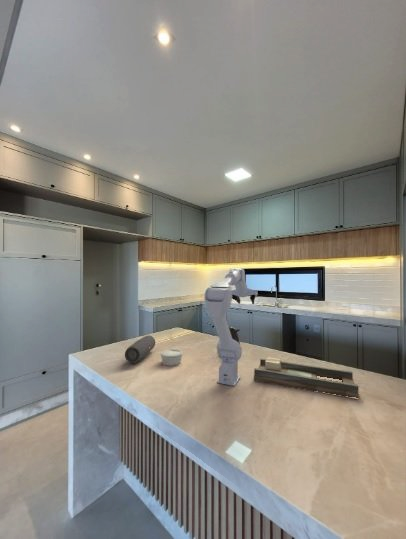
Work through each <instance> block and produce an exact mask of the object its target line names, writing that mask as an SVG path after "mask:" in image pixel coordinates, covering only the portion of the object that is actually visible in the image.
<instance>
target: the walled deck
mask: <svg viewBox="0 0 406 539" xmlns="http://www.w3.org/2000/svg"><path fill="white" fill-rule="evenodd" d="M266 359H267V358H260V359H259V361H260V362H259V365H258V368H257V367H255V368H254V369H253V370H254V371H253V374H254V375H253V382H254V381H255V382H261V383H265V384H270V383H271V384H272V385H276V384H277V385H278V386H281V385H283V386H282V387H287V386H288V388H292V387H294V388H293V389H298V388H300V389H299V390H303V389H306V390H305V391H308V390H311V391H310V392H314V391H318V392H317V393H319V392H325V393H330V394H336V395H341V396H348V397H356V398H359V399H360V395H359V385H358V384H356V383H355V381H354V375H353V374H354V373H353V372H354V371H352V370H351V371H350V370H345V369H337V368H331V367H324V366H315V365H309V364H303V363H296V362H290V361H289V362H288V361H282V360H281V371H280V372H276V371H270V370H265V361H266ZM317 376H320V377H327V378H333V379H339V380H342V382H338V381H332V380H326V379H319V378H317ZM277 385H276V386H277ZM325 393H324V394H325ZM330 394H329V395H330ZM336 395H335V396H336ZM341 396H340V397H341Z"/></svg>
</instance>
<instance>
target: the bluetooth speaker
mask: <svg viewBox="0 0 406 539" xmlns="http://www.w3.org/2000/svg"><path fill="white" fill-rule="evenodd" d="M156 343H157V342H156V339H155V338H154V336H152V335H145V336H143V337H142V338H140V339H138V340H136V341H135V342H134V343H132V344H131V345H130V346H128V347H127V348H126V350H125V351H124V358H125V360H126V361H127V362H128V363H131V364H134V363H135V364H136V363H137V362H140V361H142V360H144V359H145V357H147V355H148V354H149V353H150V352H152V350H153V349H154V348H155V346H156Z"/></svg>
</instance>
